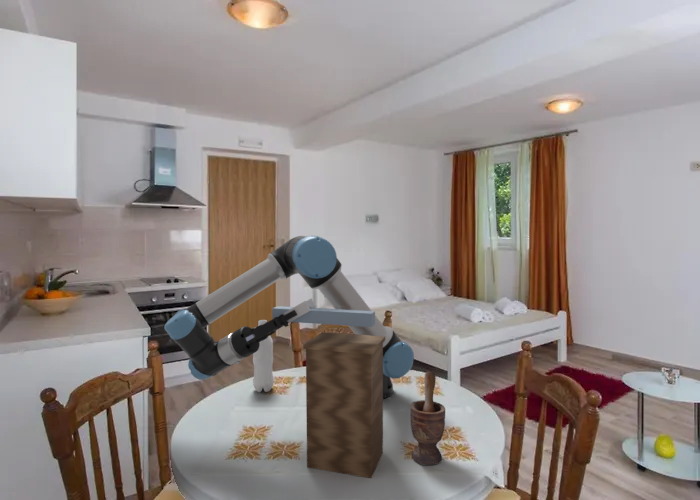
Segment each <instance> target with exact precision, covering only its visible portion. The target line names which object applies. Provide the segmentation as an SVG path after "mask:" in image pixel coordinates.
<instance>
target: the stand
mask: <svg viewBox="0 0 700 500" xmlns="http://www.w3.org/2000/svg"><path fill="white" fill-rule="evenodd" d="M384 341H385V336H371V335H357V334H355V333H354V334H353V333H342V332H341V333H340V332H326V331H322V332H320V333H319V334H317V335H316V336H314V337H312V338H311V339H309V340H308V341H307V342H305V343H303V344H302V349H303V350H305V375H306V376H305V381H306V383H305V385H306V386H305V387H306V388H305V391H306V392H305V393H306V397H305V399H306V401H305V402H306V406H305V407H306V408H305V409H306V410H305V411H306V412H305V413H306V468H307V469H308V468H309V469H315V470H320V471H326V472H332V473H333V472H334V473H337V474H344V475H349V476H357V477H361V478H367V479H372V478H373V476H374V474H375V471H376V470H377V467H378V465H379V462H380V460H381V458H382V456H383V453H384V398H383V342H384Z"/></svg>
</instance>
